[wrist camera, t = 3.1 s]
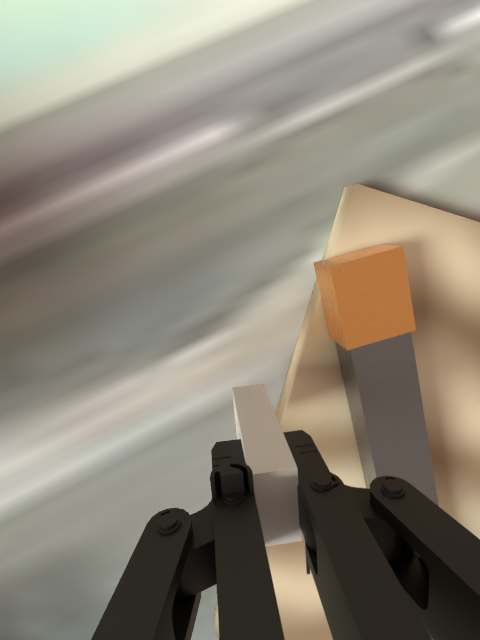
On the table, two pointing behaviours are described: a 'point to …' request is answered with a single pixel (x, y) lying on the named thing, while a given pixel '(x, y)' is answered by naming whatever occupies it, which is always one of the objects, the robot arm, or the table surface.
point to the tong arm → (378, 361)
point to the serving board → (432, 366)
